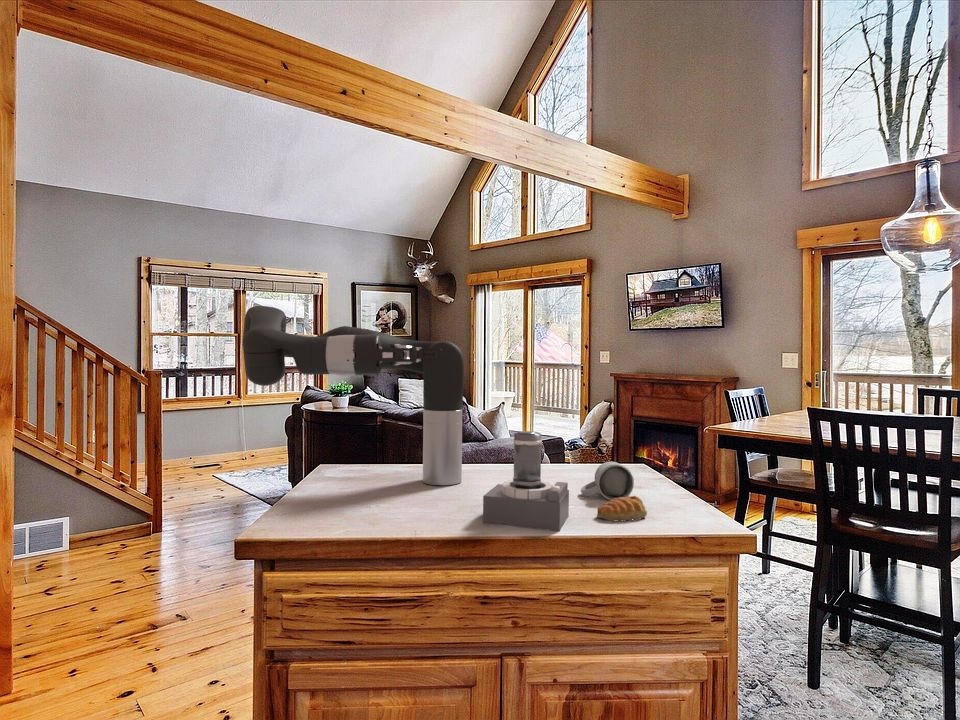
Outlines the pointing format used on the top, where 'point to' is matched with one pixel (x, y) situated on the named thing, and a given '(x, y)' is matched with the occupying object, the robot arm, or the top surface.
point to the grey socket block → (527, 506)
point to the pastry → (622, 509)
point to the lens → (527, 460)
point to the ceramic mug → (610, 482)
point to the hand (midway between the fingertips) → (441, 354)
